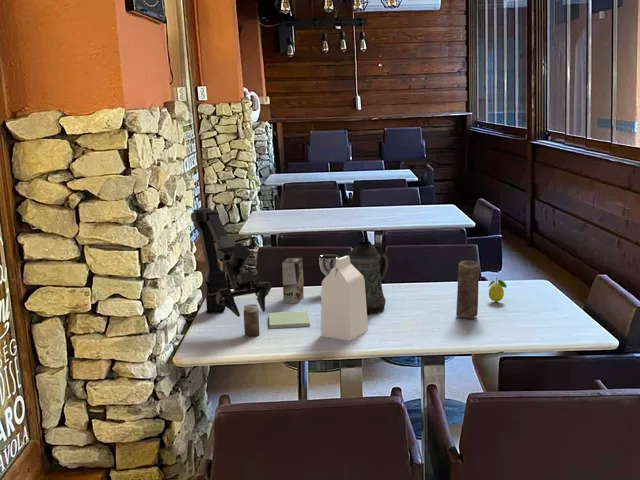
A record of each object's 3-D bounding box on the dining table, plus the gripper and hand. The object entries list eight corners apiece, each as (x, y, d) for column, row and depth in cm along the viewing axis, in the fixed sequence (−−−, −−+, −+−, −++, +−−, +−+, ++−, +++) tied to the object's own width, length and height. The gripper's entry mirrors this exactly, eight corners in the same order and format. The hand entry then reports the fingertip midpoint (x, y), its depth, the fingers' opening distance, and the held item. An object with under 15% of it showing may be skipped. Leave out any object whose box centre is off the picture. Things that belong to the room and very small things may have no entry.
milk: (350, 341, 232) (349, 263, 227) (320, 335, 238) (318, 259, 233) (368, 330, 242) (367, 255, 237) (338, 325, 248) (337, 252, 243)
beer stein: (335, 313, 263) (333, 246, 258) (352, 298, 280) (351, 236, 275) (378, 317, 256) (377, 249, 251) (393, 302, 274) (393, 238, 269)
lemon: (506, 305, 267) (507, 279, 265) (490, 305, 267) (491, 279, 265) (502, 300, 273) (502, 274, 271) (486, 300, 274) (487, 275, 272)
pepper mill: (244, 337, 238) (243, 308, 236) (244, 332, 243) (243, 304, 241) (259, 336, 238) (258, 308, 236) (259, 332, 243) (258, 303, 241)
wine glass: (319, 290, 293) (318, 254, 290) (338, 289, 294) (337, 254, 291) (320, 295, 286) (319, 259, 283) (340, 294, 286) (339, 258, 283)
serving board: (269, 328, 247) (269, 324, 247) (269, 316, 261) (268, 313, 260) (310, 326, 248) (309, 322, 248) (307, 314, 262) (307, 311, 261)
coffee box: (299, 303, 276) (297, 262, 273) (283, 302, 277) (281, 262, 274) (304, 296, 285) (303, 257, 281) (288, 296, 286) (287, 257, 283)
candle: (480, 315, 255) (481, 261, 251) (475, 321, 248) (476, 265, 244) (459, 313, 258) (459, 259, 254) (453, 319, 252) (454, 264, 248)
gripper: (216, 266, 235) (231, 306, 228) (267, 258, 244) (283, 296, 237) (209, 284, 244) (223, 323, 236) (259, 276, 253) (274, 313, 245)
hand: (251, 313), depth 239 cm, fingers open, 9 cm apart
